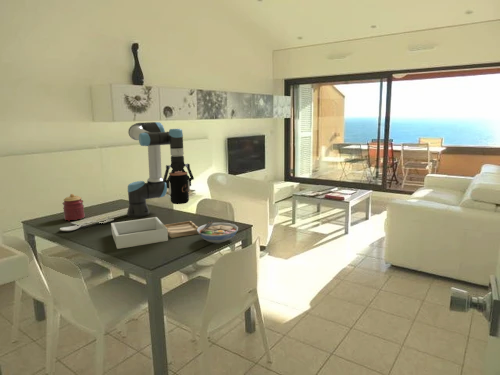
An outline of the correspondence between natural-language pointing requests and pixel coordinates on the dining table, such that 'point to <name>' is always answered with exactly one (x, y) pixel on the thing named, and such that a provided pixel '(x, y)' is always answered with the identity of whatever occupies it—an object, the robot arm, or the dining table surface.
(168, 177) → the robot arm
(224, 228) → the ramen bowl
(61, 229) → the spoon
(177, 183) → the coffee jar
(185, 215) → the dining table surface
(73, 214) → the canister
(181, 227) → the tray
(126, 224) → the crate
